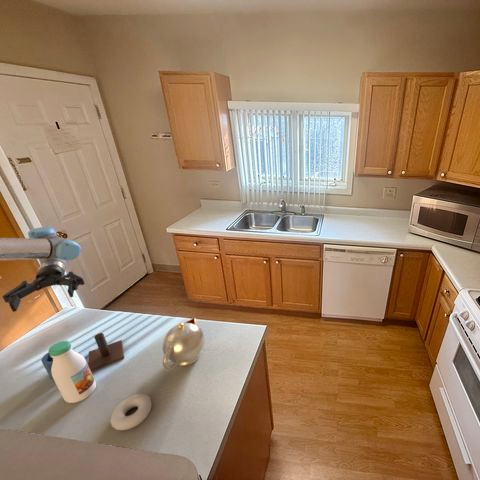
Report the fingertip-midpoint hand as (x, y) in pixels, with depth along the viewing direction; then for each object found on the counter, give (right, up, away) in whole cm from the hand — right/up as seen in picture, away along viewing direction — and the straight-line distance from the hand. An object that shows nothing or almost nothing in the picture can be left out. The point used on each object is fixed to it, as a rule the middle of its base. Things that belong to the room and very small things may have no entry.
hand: (42, 300), depth 85 cm
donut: (+37, -32, -9) cm, 50 cm away
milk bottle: (+16, -29, -4) cm, 34 cm away
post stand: (+14, -23, +9) cm, 28 cm away
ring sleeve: (+5, -25, +3) cm, 26 cm away
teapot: (+43, -25, +9) cm, 51 cm away
